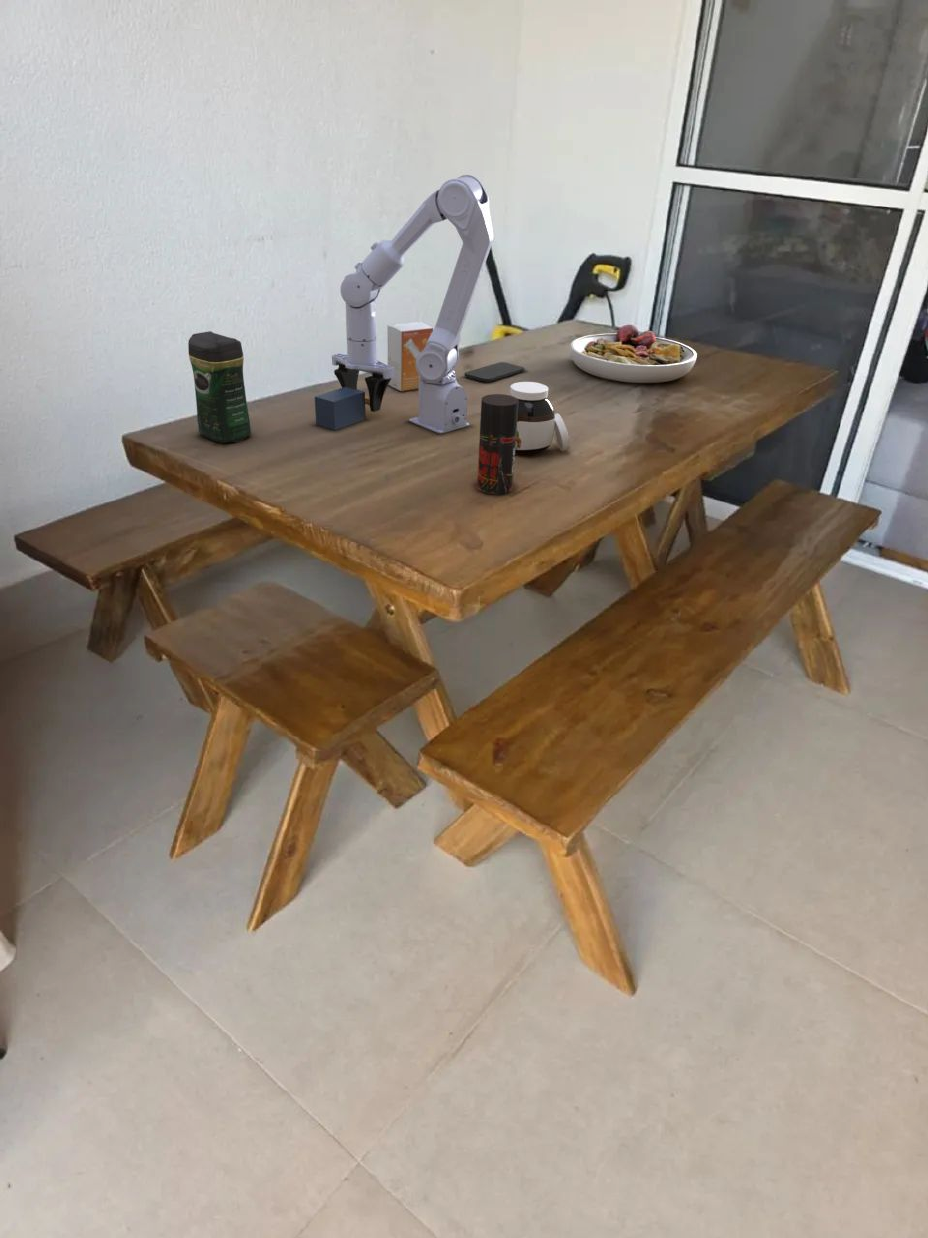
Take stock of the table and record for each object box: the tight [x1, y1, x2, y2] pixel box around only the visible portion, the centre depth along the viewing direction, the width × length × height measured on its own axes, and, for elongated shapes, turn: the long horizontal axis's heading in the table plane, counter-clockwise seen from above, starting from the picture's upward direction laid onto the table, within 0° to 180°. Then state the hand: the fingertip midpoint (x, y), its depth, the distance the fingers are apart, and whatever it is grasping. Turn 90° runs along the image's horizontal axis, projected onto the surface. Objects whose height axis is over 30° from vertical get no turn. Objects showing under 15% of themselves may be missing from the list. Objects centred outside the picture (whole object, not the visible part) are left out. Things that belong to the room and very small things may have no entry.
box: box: [314, 386, 370, 431], centre depth 167 cm, size 12×6×6 cm, turn 144°
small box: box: [386, 321, 434, 392], centre depth 187 cm, size 8×6×13 cm
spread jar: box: [509, 381, 571, 457], centre depth 156 cm, size 12×11×12 cm
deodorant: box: [476, 393, 519, 496], centre depth 139 cm, size 6×6×15 cm
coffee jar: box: [187, 330, 252, 444], centre depth 154 cm, size 10×8×19 cm
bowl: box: [569, 324, 698, 384], centre depth 206 cm, size 30×30×8 cm
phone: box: [464, 361, 525, 383], centre depth 200 cm, size 7×1×15 cm
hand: (363, 407), depth 172 cm, fingers open, 6 cm apart
